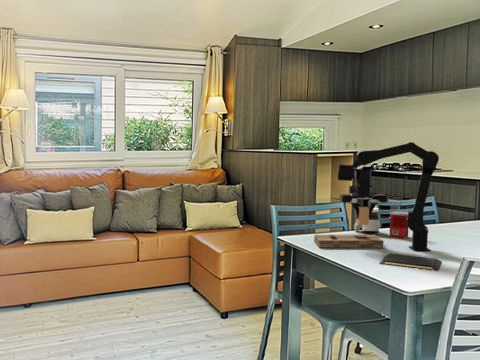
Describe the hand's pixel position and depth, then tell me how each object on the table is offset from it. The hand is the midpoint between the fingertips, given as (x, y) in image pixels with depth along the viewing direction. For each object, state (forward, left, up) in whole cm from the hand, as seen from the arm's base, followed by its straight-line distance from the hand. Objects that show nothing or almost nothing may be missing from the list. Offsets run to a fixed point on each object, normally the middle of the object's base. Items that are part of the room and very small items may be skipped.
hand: (362, 218), depth 197 cm
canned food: (+16, -21, -11) cm, 29 cm away
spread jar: (+26, -9, -11) cm, 30 cm away
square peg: (0, 0, -2) cm, 2 cm away
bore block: (0, +6, -11) cm, 12 cm away
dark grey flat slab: (-28, -10, -12) cm, 32 cm away
